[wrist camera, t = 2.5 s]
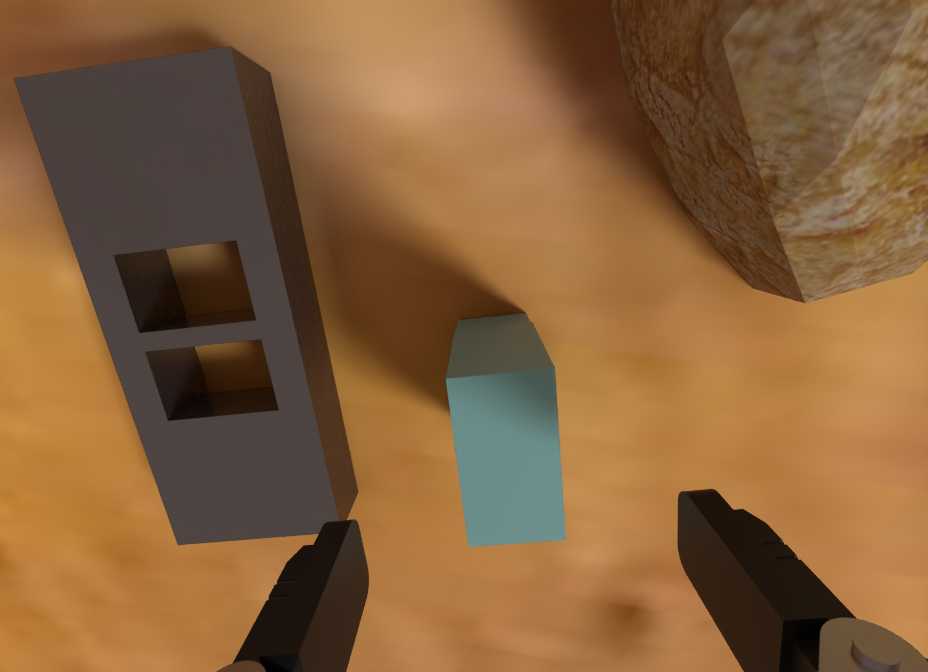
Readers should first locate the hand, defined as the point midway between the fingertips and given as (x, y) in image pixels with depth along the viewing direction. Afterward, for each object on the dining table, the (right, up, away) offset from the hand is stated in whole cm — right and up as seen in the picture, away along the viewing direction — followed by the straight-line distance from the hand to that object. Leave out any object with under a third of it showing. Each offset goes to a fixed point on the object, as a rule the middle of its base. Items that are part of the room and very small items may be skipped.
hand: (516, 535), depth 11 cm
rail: (-12, +6, +10) cm, 17 cm away
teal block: (0, +3, +10) cm, 11 cm away
